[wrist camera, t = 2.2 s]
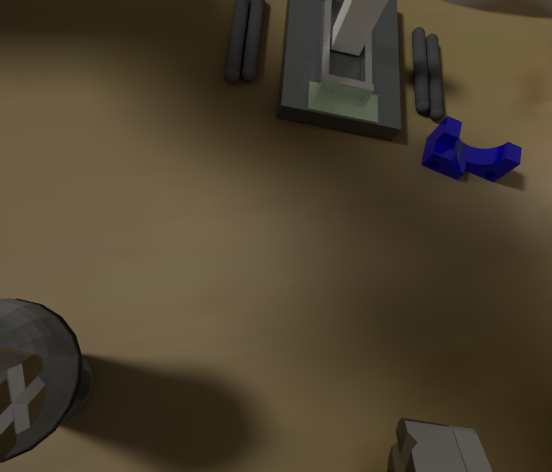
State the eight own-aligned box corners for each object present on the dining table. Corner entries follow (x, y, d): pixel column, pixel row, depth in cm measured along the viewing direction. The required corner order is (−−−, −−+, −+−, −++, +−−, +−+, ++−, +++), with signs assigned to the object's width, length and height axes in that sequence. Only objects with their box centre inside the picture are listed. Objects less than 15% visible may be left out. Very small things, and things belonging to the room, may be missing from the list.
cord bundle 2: (439, 123, 46) (447, 115, 45) (413, 118, 46) (420, 110, 44) (433, 38, 51) (439, 29, 49) (409, 32, 50) (415, 23, 49)
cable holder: (420, 165, 44) (442, 144, 40) (425, 139, 45) (447, 116, 42) (490, 195, 45) (518, 176, 41) (494, 167, 46) (521, 147, 42)
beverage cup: (39, 316, 32) (-149, 201, 13) (132, 355, 32) (74, 295, 14) (-24, 417, 29) (-374, 449, 10) (80, 459, 29) (-83, 559, 11)
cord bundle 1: (253, 89, 43) (256, 79, 41) (223, 83, 42) (224, 73, 41) (264, 1, 47) (266, -10, 46) (236, -6, 47) (238, -17, 45)
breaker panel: (392, 140, 44) (408, 120, 41) (276, 118, 42) (284, 94, 39) (388, 9, 51) (402, -17, 47) (288, -16, 49) (296, -45, 45)
